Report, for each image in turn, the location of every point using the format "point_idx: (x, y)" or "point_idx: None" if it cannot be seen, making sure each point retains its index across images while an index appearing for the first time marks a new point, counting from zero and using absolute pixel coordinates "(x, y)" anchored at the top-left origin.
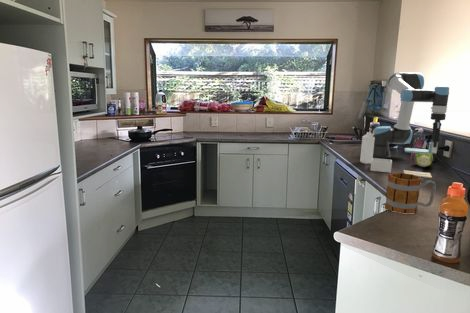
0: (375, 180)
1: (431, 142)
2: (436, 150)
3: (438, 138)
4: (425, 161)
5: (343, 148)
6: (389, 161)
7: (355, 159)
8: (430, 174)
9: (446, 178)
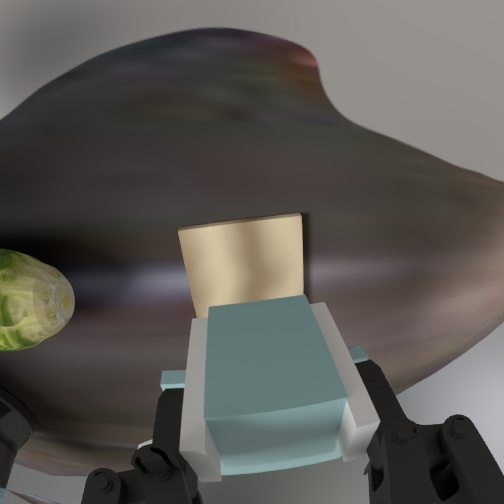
0: (422, 378)
1: (226, 456)
2: (335, 324)
3: (484, 451)
4: (59, 293)
5: (17, 457)
6: None
7: (122, 461)
8: (226, 225)
9: (246, 126)
